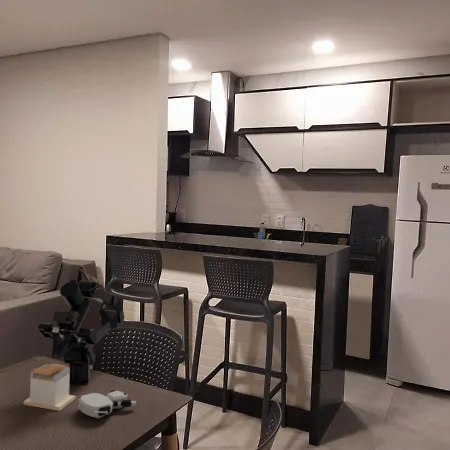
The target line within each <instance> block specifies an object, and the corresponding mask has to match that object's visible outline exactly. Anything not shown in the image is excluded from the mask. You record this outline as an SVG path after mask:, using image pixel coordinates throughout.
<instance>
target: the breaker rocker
mask: <svg viewBox="0 0 450 450" xmlns="http://www.w3.org/2000/svg"><path fill="white" fill-rule="evenodd" d="M42 366H43V365H42ZM39 367H40V368H39ZM39 367H37V368H34V369H33V371H34V373H40V374H46V375H50V374H57V373H59V372H60V371H62V370H64V369H65V368H67V367H68V366H67V365H65V364H64V365H63V364H57V363H51V364H48V365H47V366H43V367H41V366H39Z"/></svg>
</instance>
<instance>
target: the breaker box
mask: <svg viewBox="0 0 450 450" xmlns="http://www.w3.org/2000/svg"><path fill="white" fill-rule="evenodd" d="M47 365H49V364H47V363H45V364H43V365H41V366H39V367H38V368H40V367H43V366H47ZM69 377H70V367H69V366H67V367H66V368H65V369H64V370H62V371H59V373H57V374H50V375H46V374H40V373H34V370H31V372H30V385H29V386H30V389H29V390H30V391H29V397H28V398H26V399H25V400H24V401H23V405H24V406H29V407H37V408H42V409H48V410H53V411H59V412H60V411H61V410H63V409H64V408H65V407H66V406H68V405H69V404H70V403H71V402H73V401H74V400H75V399H76V398H75V397H74V396H75V395H72V394H70V384H69Z"/></svg>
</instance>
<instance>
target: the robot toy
mask: <svg viewBox="0 0 450 450" xmlns="http://www.w3.org/2000/svg"><path fill="white" fill-rule="evenodd" d="M73 396H74V397H75V399H78V405H77V407H78V409H79V410H80V412H82V413H83V414H85V415H87V416H89V417H92V418H96V419H100V418H103V417H104V416H107V415H110V414H111V413H112V412H113V409H114V410H115V409H122V407H123V408H130V407H131V406H136V405H137V401H136V400H131V399H129V394H127V393H126V392H123V391H119V390H117V389H112V390H111V391H109V392H108V393H107V394H105V395H104V394H101V393H97V392H92V393H88V394H84V395H81V396H77V395H73Z"/></svg>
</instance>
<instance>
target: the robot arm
mask: <svg viewBox="0 0 450 450" xmlns="http://www.w3.org/2000/svg"><path fill="white" fill-rule="evenodd" d="M59 294H60V296H61V297H62V299H63V300H64V301H65V303H66V304H67V305H68V306H69V308H68V310H67V311H66V310H65V311H57V310H54V311H53V314H52V318H51V323H49V322H43V321H42V322H40V323H38V324H37V326H36V331H37V332H38V334H39V335H40V336H41V337H42V338H45V339H48V340H49V339H50V340H52V347H51V359H57V360H60V359H61V358H62V357H63V361H64V365H65V364H68V365H69V366H68V367H70V377H69V385H88V384H89V382H90V380H91V376H92V375H91V366H92V365H94V364H95V362H96V354H95V352H94V351H93V349H92V348H93V347H94V346H95V345H96V344H97V343H98V342H99V341H101V339H102V338H103V337H104V336H105V335H106V334H108V332H109V331H110V330H114V329H118V328H120V326H122V325H123V323H124V322H125V312H124V307H123V306H122V305H121V303H120V302H119V299H118V295H115V294H112V293H110V292H109V291H107V290H105V289H102V284H100V283H99V282H98V281H95V280H82V279H80V280H79V281H78V279H70V281H69V282H66V283H65V284H63V285H62V286H61V287H60V289H59ZM89 299H93V300H95V301H97V302H99V303H101V307H100V309H99V312H98V313H99V317H100V319H99V321H98V322H97V323H96V324H95V325H94V326H93V327H91V328H89V327H81V326H82V325H85V323H86V321H85V320H84V319H85V318H86V315H87V313H88V311H89V310H92V309H93V305H92V302H91V300H89ZM106 305H107V306H112V308H113V309H114V310H111V309H106ZM53 322H55V323H56V326H57V327H55V326H54V325H53V324H52V323H53ZM63 338H64V339H63Z"/></svg>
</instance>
